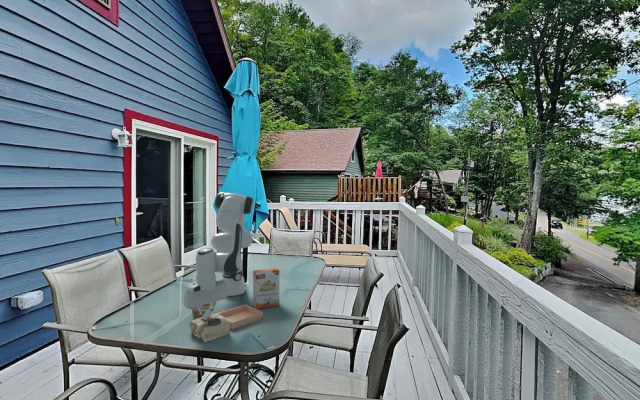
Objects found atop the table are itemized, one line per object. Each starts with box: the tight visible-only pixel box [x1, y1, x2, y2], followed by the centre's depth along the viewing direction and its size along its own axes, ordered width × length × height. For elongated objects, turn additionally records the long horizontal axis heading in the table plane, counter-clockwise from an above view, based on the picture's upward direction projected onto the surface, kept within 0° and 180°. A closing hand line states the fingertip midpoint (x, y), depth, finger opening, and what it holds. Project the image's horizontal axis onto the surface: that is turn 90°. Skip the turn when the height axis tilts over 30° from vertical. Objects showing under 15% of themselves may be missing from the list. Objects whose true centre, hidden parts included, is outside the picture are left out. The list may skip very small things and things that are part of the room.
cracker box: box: [252, 267, 280, 310], centre depth 188 cm, size 14×6×21 cm, turn 118°
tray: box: [215, 304, 264, 331], centre depth 170 cm, size 16×18×4 cm
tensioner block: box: [190, 313, 231, 341], centre depth 154 cm, size 14×12×7 cm
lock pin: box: [203, 303, 212, 322], centre depth 156 cm, size 4×4×13 cm
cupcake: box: [190, 305, 203, 319], centre depth 172 cm, size 9×9×10 cm
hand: (206, 312), depth 156 cm, fingers closed on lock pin, 3 cm apart
